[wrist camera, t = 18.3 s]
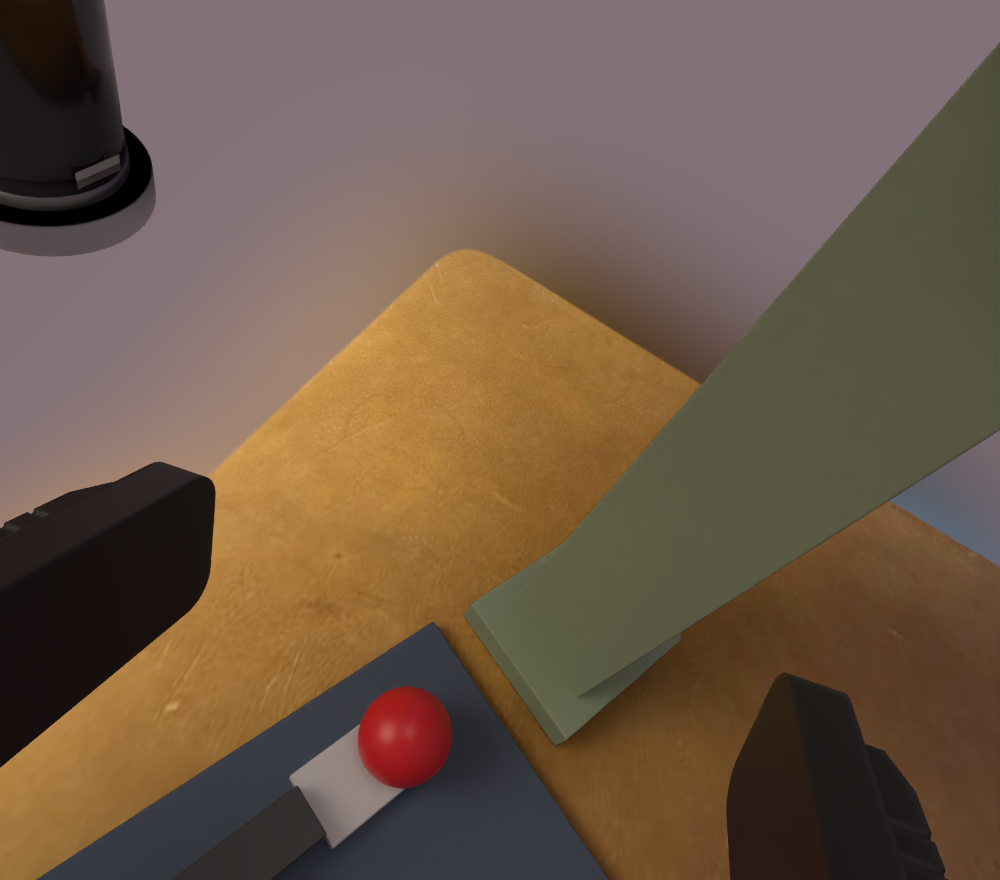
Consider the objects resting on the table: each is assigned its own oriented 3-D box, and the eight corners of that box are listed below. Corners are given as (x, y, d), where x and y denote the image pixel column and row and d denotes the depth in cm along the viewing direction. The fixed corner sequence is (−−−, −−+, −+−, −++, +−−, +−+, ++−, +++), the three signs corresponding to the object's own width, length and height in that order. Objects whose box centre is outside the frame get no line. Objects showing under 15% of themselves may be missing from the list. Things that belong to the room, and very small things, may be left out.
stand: (512, 784, 29) (2005, 79, 4) (418, 643, 31) (1087, -368, 6) (667, 647, 35) (1699, 8, 10) (580, 536, 37) (1261, -219, 12)
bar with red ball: (-7, 1146, 19) (-50, 1186, 16) (-57, 1019, 20) (-106, 1037, 17) (457, 754, 28) (481, 737, 26) (407, 681, 29) (425, 656, 27)
